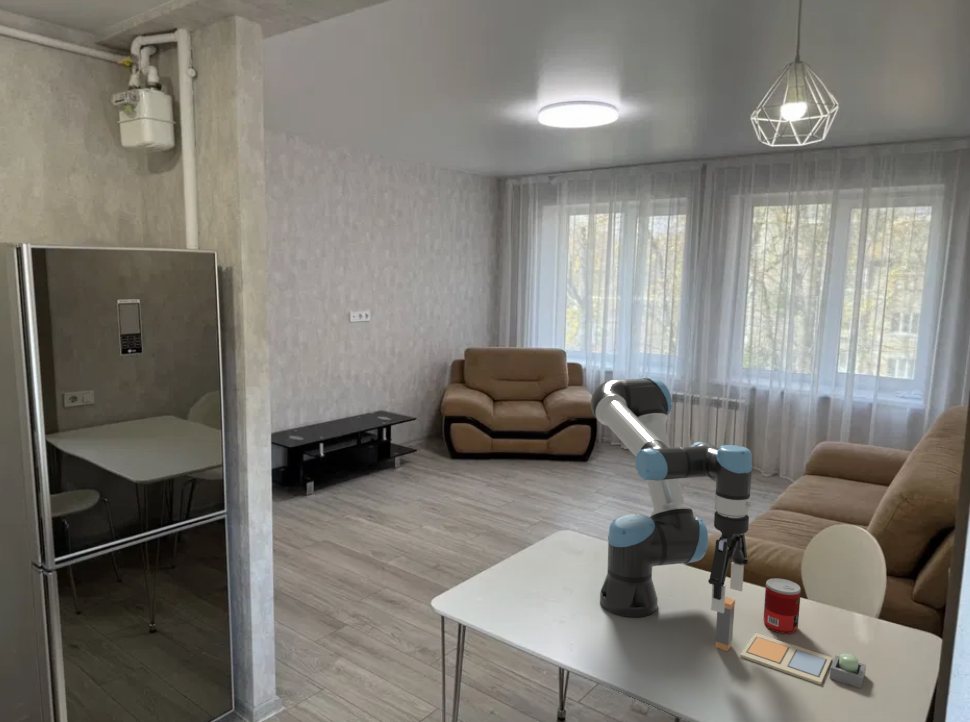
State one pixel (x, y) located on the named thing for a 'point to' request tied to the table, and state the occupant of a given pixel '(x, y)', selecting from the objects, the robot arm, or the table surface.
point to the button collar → (847, 674)
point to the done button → (848, 663)
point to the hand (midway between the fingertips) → (727, 600)
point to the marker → (725, 625)
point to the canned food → (782, 605)
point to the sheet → (787, 658)
